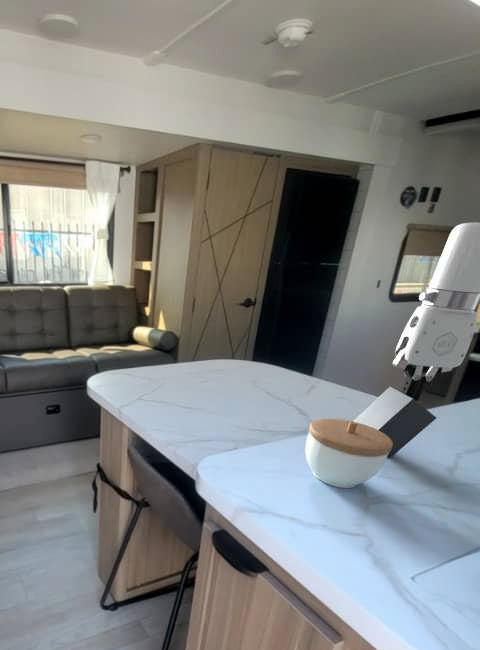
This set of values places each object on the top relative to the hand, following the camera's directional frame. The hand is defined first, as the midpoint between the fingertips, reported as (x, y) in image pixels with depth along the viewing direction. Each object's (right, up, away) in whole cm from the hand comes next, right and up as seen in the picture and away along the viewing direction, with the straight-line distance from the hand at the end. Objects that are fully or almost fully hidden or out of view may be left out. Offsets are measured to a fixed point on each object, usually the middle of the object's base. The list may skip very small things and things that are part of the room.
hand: (408, 397), depth 80 cm
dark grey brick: (+1, -7, +3) cm, 7 cm away
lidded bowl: (-18, -15, -5) cm, 24 cm away
